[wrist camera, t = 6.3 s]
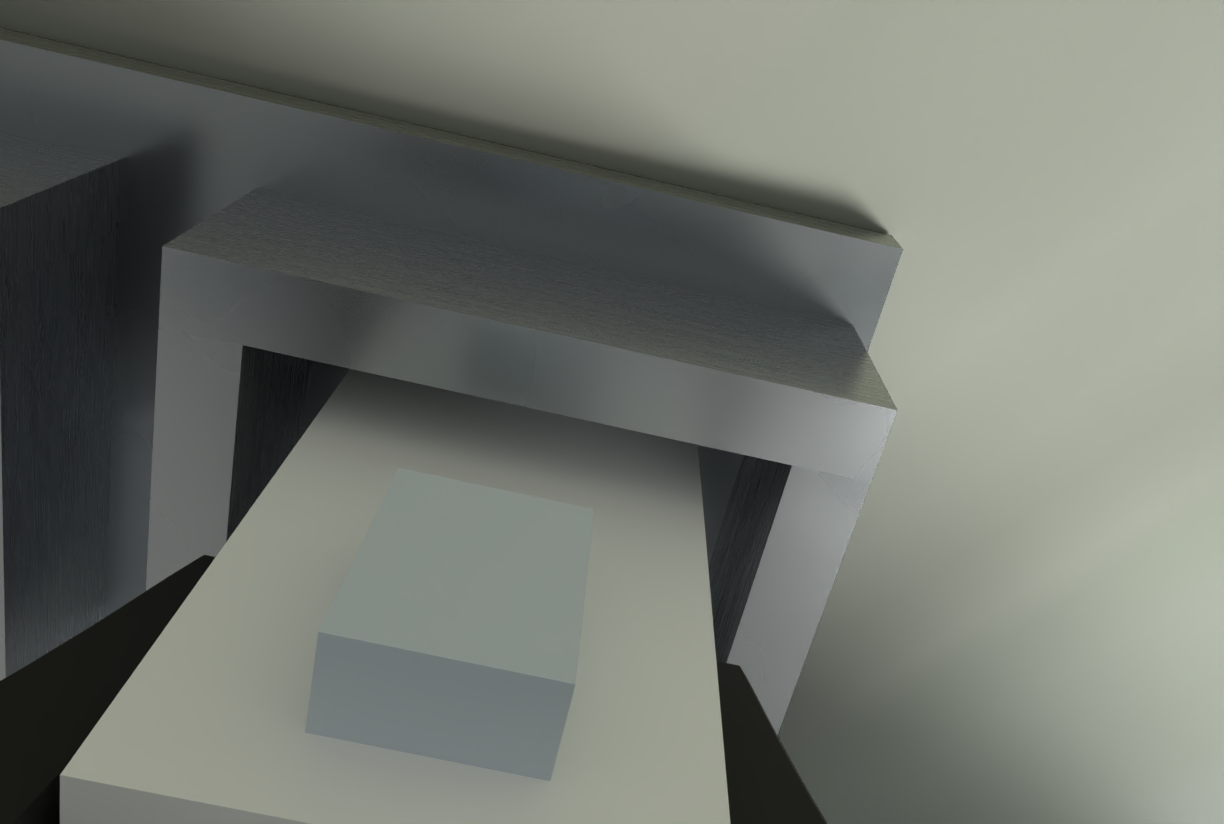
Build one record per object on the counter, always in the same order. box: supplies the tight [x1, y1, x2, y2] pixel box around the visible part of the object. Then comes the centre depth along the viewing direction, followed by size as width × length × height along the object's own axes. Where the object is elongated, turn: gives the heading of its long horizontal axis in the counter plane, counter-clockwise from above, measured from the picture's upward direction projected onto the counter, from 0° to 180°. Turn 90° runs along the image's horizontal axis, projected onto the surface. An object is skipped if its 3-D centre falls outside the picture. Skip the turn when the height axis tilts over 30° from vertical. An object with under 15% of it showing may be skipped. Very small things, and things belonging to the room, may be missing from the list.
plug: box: [60, 369, 730, 824], centre depth 10 cm, size 5×4×7 cm
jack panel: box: [0, 28, 903, 735], centre depth 12 cm, size 9×16×3 cm, turn 78°
